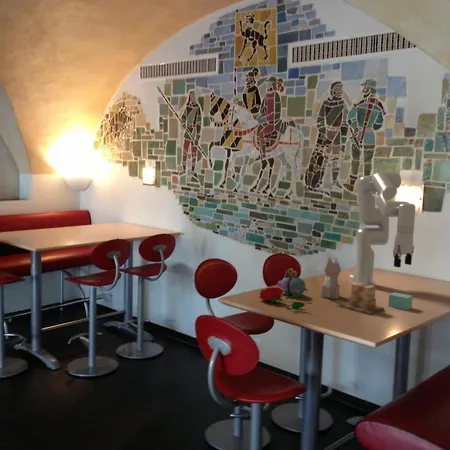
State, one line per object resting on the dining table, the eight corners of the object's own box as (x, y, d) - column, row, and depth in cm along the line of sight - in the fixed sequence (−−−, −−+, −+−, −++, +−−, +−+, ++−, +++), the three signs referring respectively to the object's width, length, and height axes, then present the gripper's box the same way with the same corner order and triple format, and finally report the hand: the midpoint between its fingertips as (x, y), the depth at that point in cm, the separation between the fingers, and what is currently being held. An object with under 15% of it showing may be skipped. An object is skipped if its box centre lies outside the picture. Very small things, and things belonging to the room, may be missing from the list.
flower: (315, 287, 252) (262, 281, 271) (305, 301, 246) (252, 293, 265) (320, 303, 256) (267, 295, 275) (311, 316, 250) (258, 308, 269)
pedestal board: (340, 306, 263) (340, 296, 262) (354, 302, 271) (355, 292, 270) (369, 314, 251) (370, 303, 251) (383, 310, 259) (384, 299, 259)
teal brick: (388, 306, 266) (389, 294, 265) (393, 304, 271) (394, 292, 270) (406, 310, 260) (407, 298, 259) (411, 308, 265) (412, 295, 264)
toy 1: (273, 294, 283) (297, 299, 272) (274, 267, 281) (297, 272, 271) (287, 290, 291) (310, 295, 280) (288, 265, 289) (311, 269, 279)
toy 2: (340, 294, 285) (343, 256, 283) (335, 303, 268) (338, 262, 266) (323, 292, 288) (325, 254, 285) (317, 301, 271) (319, 261, 268)
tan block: (350, 296, 262) (351, 284, 261) (358, 294, 266) (359, 282, 265) (367, 300, 255) (368, 288, 254) (374, 298, 259) (375, 286, 258)
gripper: (407, 227, 269) (404, 262, 271) (388, 230, 257) (385, 266, 259) (422, 229, 263) (419, 264, 266) (402, 232, 251) (400, 269, 254)
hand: (402, 265), depth 262 cm, fingers open, 9 cm apart
